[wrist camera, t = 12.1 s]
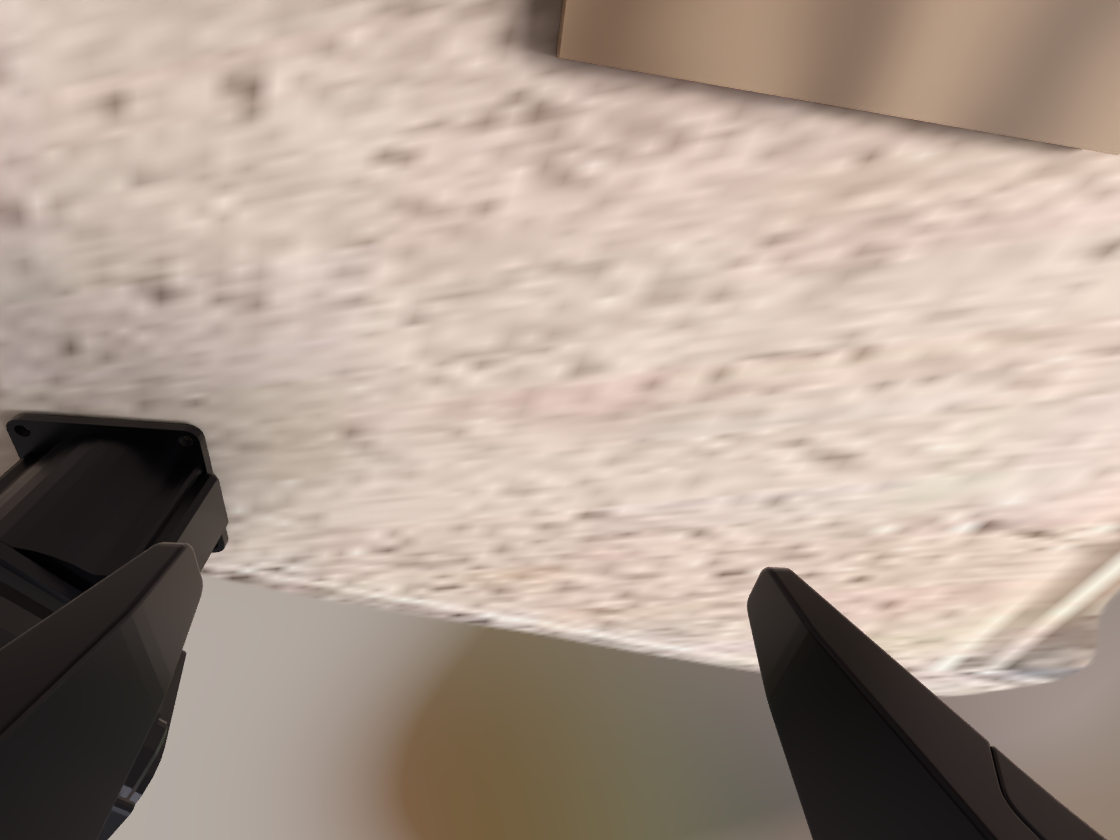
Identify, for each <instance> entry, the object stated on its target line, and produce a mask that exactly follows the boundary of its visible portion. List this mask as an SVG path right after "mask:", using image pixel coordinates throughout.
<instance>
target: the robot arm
mask: <svg viewBox="0 0 1120 840" xmlns="http://www.w3.org/2000/svg"><path fill="white" fill-rule="evenodd" d="M24 426H25V427H27V428H28V429H29V430H28V429H26V428H25V427H24ZM6 427H7V431H8V433H9V435H10V438H11V440H12V442H13V444H14V446H15V449H16V451H17V453H18V455H19V457H20V460H19V461H18V462H17V463H16V464H15V465H13V466H12V467H11V468H10V469H9V470H8V471H7V472H5V473H4V474H3V475H2V476H1V477H0V840H107V839H108V838H109V837H110V836H111V835H112V834H113V833H114V832H115V831H116V829H117V828H118V827H119V826H120V825H121V824H122V823H123V822H124V821H125V819H126V818H127V817H128V816H129V815H130V813H131V812H132V811H133V809H134V806H135V804H136V803H137V801H138V800H139V799H140V797H141V796H142V794H143V793H144V791H145V789H146V787H147V786H148V784H149V783H150V781H151V779H152V778H153V776H154V774H155V771H156V769H157V767H158V765H159V763H160V761H161V758H162V754H163V751H164V748H165V744H166V740H167V735H168V730H169V726H170V722H171V718H172V713H173V709H174V705H175V700H176V696H177V692H178V687H179V683H180V679H181V675H182V670H183V666H184V661H185V657H186V652H185V651H183V650H182V648H183V646H184V643H185V640H186V637H187V634H188V632H189V629H190V626H191V623H192V620H193V617H194V614H195V612H196V609H197V606H198V603H199V600H200V597H201V593H202V588H203V582H202V577H201V573H200V572H201V570H202V568H203V567H204V565H205V563H206V561H207V560H208V558H209V556H210V554H211V553H212V552H213V553H215V552H220V551H222V550H223V549H224V548H225V546H226V544H227V542H228V535H227V531H226V526H227V524H228V518H227V514H226V509H225V505H224V501H223V496H222V492H221V487H220V483H219V479H218V478H217V477H216V475H215V474H213V471H212V466H211V462H210V458H209V453H208V449H207V445H206V441H205V436H204V434H203V432H202V431H201V430H200V429H199V428H197V427H195V426H192V425H186V424H171V423H157V422H142V421H127V420H113V419H98V418H83V417H69V416H54V415H39V414H19V415H17V416H15V417H14V418H13V419H11V420H10V421H9V422H8V423H7V425H6ZM184 436H187V437H189V438H191V439H192V441H191V440H188V439H186V438H185V437H184ZM747 611H748V617H749V621H750V626H751V630H752V635H753V639H754V644H755V648H756V653H757V658H758V662H759V667H760V671H761V676H762V680H763V685H764V689H765V693H766V697H767V701H768V704H769V707H770V710H771V713H772V717H773V720H774V723H775V726H776V729H777V732H778V735H779V738H780V741H781V744H782V747H783V750H784V753H785V756H786V759H787V762H788V765H789V769H790V771H791V775H792V778H793V781H794V784H795V787H796V790H797V793H798V796H799V799H800V802H801V805H802V808H803V811H804V814H805V817H806V820H807V823H808V826H809V829H810V832H811V835H812V838H813V840H1106V839H1105V838H1104V837H1103V836H1101V835H1100V834H1099V833H1098V832H1096V831H1095V830H1094V829H1093V828H1091V827H1090V826H1089V825H1088V824H1086V823H1085V822H1084V821H1082V820H1081V819H1080V818H1079V817H1078V816H1076V815H1075V814H1074V813H1073V812H1071V811H1070V810H1069V809H1068V808H1066V807H1065V806H1064V805H1063V804H1061V803H1060V802H1059V801H1058V800H1057V799H1055V798H1054V797H1053V796H1052V795H1051V794H1050V793H1048V792H1047V791H1046V790H1045V789H1044V788H1042V787H1041V786H1040V785H1039V784H1038V783H1037V782H1035V781H1034V780H1033V779H1032V778H1031V777H1029V776H1028V775H1027V774H1026V773H1025V772H1023V771H1022V770H1021V769H1020V768H1019V767H1018V766H1016V765H1015V764H1014V763H1013V762H1012V761H1011V760H1010V759H1008V758H1007V757H1006V756H1005V755H1004V754H1003V753H1001V752H1000V751H999V750H998V749H997V748H996V747H994V746H990V744H989V742H988V741H987V740H986V739H985V738H984V737H983V736H982V735H981V734H979V733H978V732H977V731H976V730H975V729H974V728H972V727H971V726H970V725H969V724H968V723H967V722H965V721H964V720H963V719H962V718H961V717H960V716H959V715H958V714H956V713H955V712H954V711H953V710H952V709H950V708H949V707H948V706H947V705H946V704H945V703H943V702H942V701H941V700H940V699H939V698H938V697H937V696H936V695H935V694H933V693H932V692H931V691H930V690H929V689H928V688H926V687H925V686H924V685H923V684H922V683H921V682H920V681H918V680H917V679H916V678H915V677H914V676H913V675H912V674H910V673H909V672H908V671H907V670H906V669H905V668H903V667H902V666H901V665H900V664H899V663H898V662H897V661H895V660H894V659H893V658H892V657H891V656H890V655H889V654H887V653H886V652H885V651H884V650H883V649H882V648H880V647H879V646H878V645H877V644H876V643H875V642H874V641H872V640H871V639H870V638H869V637H868V636H867V635H865V634H864V633H863V632H862V631H861V630H860V629H859V628H857V627H856V626H855V625H854V624H853V623H852V622H851V621H849V620H848V619H847V618H846V617H845V616H844V615H842V614H841V613H840V612H839V611H838V610H837V609H836V608H834V607H833V606H832V605H831V604H830V603H829V602H828V601H826V600H825V599H824V598H823V597H822V596H821V595H819V594H818V593H817V592H816V591H815V590H814V589H813V588H811V587H810V586H809V585H808V584H807V583H806V582H805V581H803V580H802V579H801V578H800V577H799V576H798V575H796V574H795V573H794V572H793V571H791V570H790V569H788V568H779V567H766V568H765V569H763V570H762V571H761V573H760V575H759V577H758V579H757V581H756V583H755V585H754V587H753V589H752V591H751V593H750V595H749V598H748V602H747Z"/></svg>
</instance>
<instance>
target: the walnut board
mask: <svg viewBox="0 0 1120 840" xmlns="http://www.w3.org/2000/svg"><path fill="white" fill-rule="evenodd" d="M556 57H558V58H563V59H568V60H574V61H580V62H586V63H591V64H597V65H603V66H609V67H614V68H620V69H626V70H632V71H637V72H643V73H649V74H655V75H660V76H666V77H672V78H678V79H683V80H689V81H695V82H701V83H706V84H712V85H718V86H724V87H729V88H735V89H741V90H747V91H752V92H758V93H764V94H770V95H775V96H781V97H787V98H793V99H798V100H804V101H810V102H815V103H821V104H827V105H833V106H838V107H844V108H850V109H856V110H861V111H867V112H873V113H879V114H884V115H890V116H896V117H902V118H907V119H913V120H919V121H925V122H930V123H936V124H942V125H948V126H953V127H959V128H965V129H971V130H976V131H982V132H988V133H994V134H999V135H1005V136H1011V137H1017V138H1022V139H1028V140H1034V141H1040V142H1045V143H1051V144H1057V145H1063V146H1068V147H1074V148H1080V149H1086V150H1091V151H1097V152H1103V153H1109V154H1114V155H1119V153H1120V0H563V2H562V10H561V18H560V26H559V34H558V43H557V51H556Z"/></svg>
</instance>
